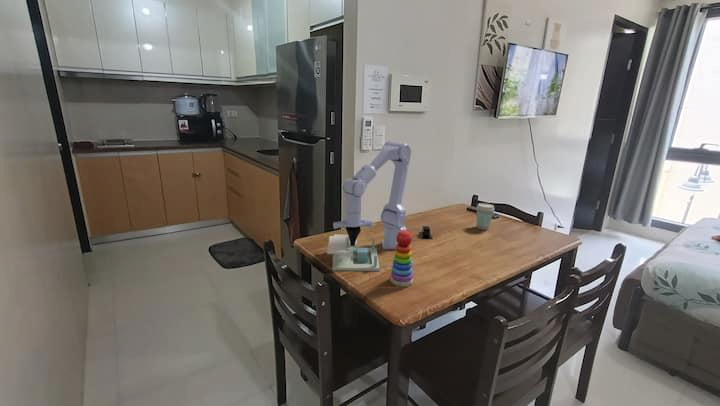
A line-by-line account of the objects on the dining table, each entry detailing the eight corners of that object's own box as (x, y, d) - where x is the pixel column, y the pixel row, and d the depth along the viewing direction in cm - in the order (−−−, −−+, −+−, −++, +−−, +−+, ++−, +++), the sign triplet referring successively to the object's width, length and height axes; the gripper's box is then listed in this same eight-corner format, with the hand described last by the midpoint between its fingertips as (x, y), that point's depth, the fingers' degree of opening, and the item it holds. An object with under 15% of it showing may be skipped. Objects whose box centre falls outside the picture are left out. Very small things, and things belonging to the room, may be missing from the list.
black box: (416, 231, 165) (417, 222, 163) (431, 232, 165) (432, 223, 163) (419, 241, 153) (420, 231, 151) (436, 242, 153) (437, 232, 151)
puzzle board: (376, 251, 140) (376, 238, 138) (379, 271, 122) (380, 257, 121) (334, 250, 139) (335, 237, 138) (332, 270, 122) (332, 256, 120)
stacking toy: (387, 276, 119) (390, 226, 114) (410, 276, 120) (414, 226, 115) (391, 288, 112) (395, 235, 107) (415, 287, 112) (420, 235, 107)
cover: (349, 238, 136) (349, 235, 136) (349, 254, 122) (349, 250, 122) (329, 237, 136) (329, 234, 136) (326, 253, 122) (326, 250, 121)
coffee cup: (493, 227, 172) (496, 204, 169) (489, 232, 165) (492, 208, 162) (476, 223, 177) (479, 201, 173) (471, 228, 170) (474, 205, 166)
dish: (356, 238, 152) (356, 234, 151) (356, 247, 142) (356, 243, 142) (334, 238, 152) (334, 234, 151) (332, 247, 142) (333, 243, 142)
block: (367, 257, 133) (367, 248, 132) (367, 262, 129) (368, 252, 128) (357, 257, 133) (357, 247, 132) (357, 261, 129) (357, 252, 128)
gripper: (369, 207, 131) (368, 240, 134) (332, 208, 127) (332, 242, 131) (374, 212, 124) (372, 247, 128) (335, 214, 121) (334, 249, 125)
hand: (352, 245), depth 129 cm, fingers closed
